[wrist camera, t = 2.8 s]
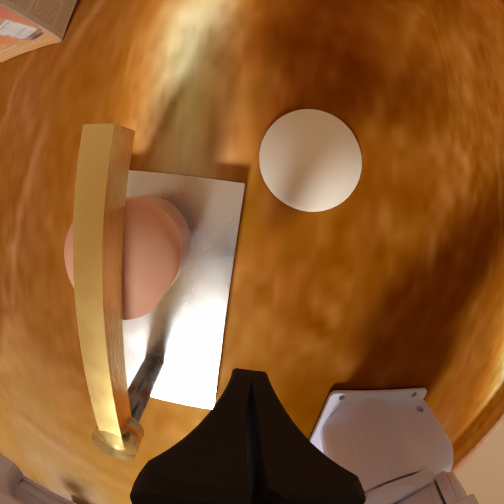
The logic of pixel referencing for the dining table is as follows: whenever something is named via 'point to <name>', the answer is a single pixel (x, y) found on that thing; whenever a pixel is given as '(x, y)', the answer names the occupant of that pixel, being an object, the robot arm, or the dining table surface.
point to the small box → (32, 24)
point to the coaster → (310, 160)
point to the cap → (146, 252)
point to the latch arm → (103, 282)
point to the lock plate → (186, 296)
